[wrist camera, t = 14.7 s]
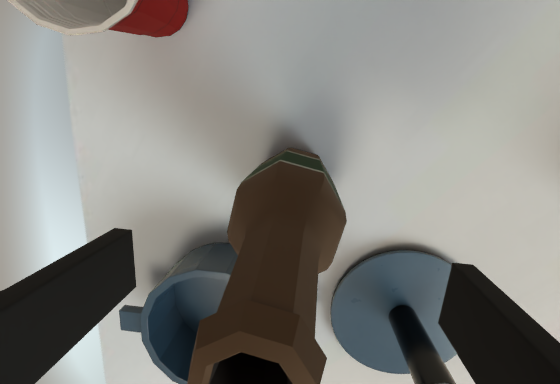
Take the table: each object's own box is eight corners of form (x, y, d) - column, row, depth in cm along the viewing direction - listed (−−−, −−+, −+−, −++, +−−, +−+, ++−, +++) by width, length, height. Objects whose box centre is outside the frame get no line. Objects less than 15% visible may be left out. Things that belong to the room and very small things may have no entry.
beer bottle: (288, 130, 29) (204, 169, 6) (347, 177, 29) (498, 391, 6) (244, 188, 31) (45, 399, 7) (300, 231, 31) (279, 551, 8)
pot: (145, 234, 33) (108, 260, 27) (316, 251, 32) (318, 282, 26) (151, 339, 37) (121, 382, 31) (305, 358, 35) (305, 408, 29)
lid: (338, 240, 31) (353, 300, 21) (487, 255, 30) (580, 325, 20) (323, 357, 35) (330, 455, 25) (455, 374, 34) (519, 484, 24)
